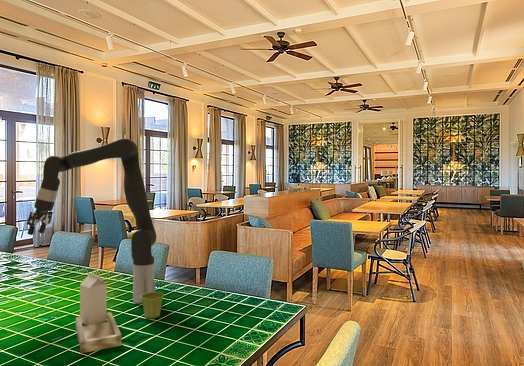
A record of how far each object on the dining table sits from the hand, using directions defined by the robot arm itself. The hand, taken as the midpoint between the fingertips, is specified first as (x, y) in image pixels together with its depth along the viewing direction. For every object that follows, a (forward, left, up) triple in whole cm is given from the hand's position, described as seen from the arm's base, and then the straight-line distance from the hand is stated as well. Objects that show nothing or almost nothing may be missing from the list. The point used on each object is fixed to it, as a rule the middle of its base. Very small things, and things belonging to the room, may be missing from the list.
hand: (35, 233), depth 174 cm
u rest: (-20, +51, -31) cm, 63 cm away
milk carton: (-20, +37, -31) cm, 52 cm away
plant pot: (-42, +41, -31) cm, 67 cm away
